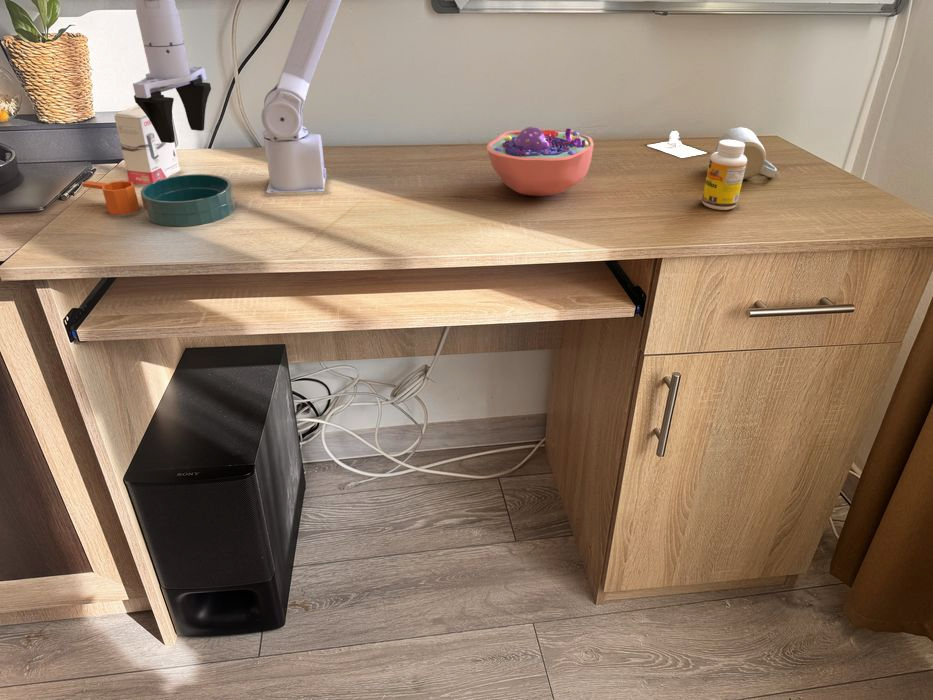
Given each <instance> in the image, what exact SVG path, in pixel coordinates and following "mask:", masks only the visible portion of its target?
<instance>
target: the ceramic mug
mask: <svg viewBox="0 0 933 700" xmlns="http://www.w3.org/2000/svg"><path fill="white" fill-rule="evenodd" d="M721 140H736V141H740V142H743V143H744V144H745V148H744V153H743V155H744V156H745V157H746V158H747V163H746V168H745V172H744V176H743V180H748V179H750V178H753V177H755V176H757V175H758V174H761V175H762V176H765V177H767V178H770V179H771V178H774V176H775V175H776V174H777V172H778V169H777V167H775V165H773V164H772V163H771V162H769V161H768V160H766V158H767V155H766V149H765V147H764V146H763V144H762V143H761V142H760V140H759V138H758V137H757V135H756V134H755V133H754V132H753V131H752V130H751V129H749V128H747V127H743V126H741V127H739V126H738V127H733V128H730V129H728V130H727V131H725V132H724V133H723V134H722V135H721V136H720V137H719V138H718V141H717V142H716V144H715V148H714V149H715V150H714V153H715V152H717V148H718V144H719V141H721Z"/></svg>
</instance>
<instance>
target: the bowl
mask: <svg viewBox="0 0 933 700" xmlns="http://www.w3.org/2000/svg"><path fill="white" fill-rule="evenodd" d="M140 197H141V202H142V206H143V210H144V213H145V216H146V219H147V220H148V221H149V222H150V223H153V224H155V225H159V226H164V227H193V226H200V225H205V224H210V223H214V222H217V221H219V220H223V219H224V218H226V217H228V216H230V215H232V213H233V212H235V209H236V202H235V197H234V191H233V185H232V182H231V181H230V180H229V179H228V178H226V177H223V176H220V175H216V174H215V175H214V174H203V173H193V174H192V173H191V174H182V175H181V174H180V175H174V176H169V177H167V178H164V179H161V180H157V181H155V182H152V183H150V184H148V185H147V184H146V185H145V186H143V188H142V189H141V190H140Z"/></svg>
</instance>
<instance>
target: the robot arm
mask: <svg viewBox="0 0 933 700" xmlns="http://www.w3.org/2000/svg"><path fill="white" fill-rule="evenodd" d="M133 1H134V4H135V14H136V18H137V22H138V27H139V31H140V35H141V40H142V45H143V50H144V52H145V53H144V54H145V58H146V62H147V66H148V67H147V68H148V71H149V72H148V73H145V77H144V78H143V79H141V80H138V81H137V82H134V83H132V87H133V91H134V95H133V98H134V102H135V104H136V105H137V106H138V105H139V107H140V108H141V109H142V110H143V111H144V113H145V114H146V115H147V117H148V118H149V120H150V121H151V123H152V125H153V127H154V129H155V131H156V133H157V135H158V137H159V139H160V141H161V142H166V143H173V142H175V139H176V138H175V137H176V136H175V129H174V123H173V106H174V101H175V98H174V97H169V96H165V95H164V94H162V93H163V92H166V91H171V90H173V89H175V90H176V92H177V94H178V96H179V98H180V100H181V103H182V105H183V109H184V111H185V115H186V116H185V117H186V119H187V123H188V126H189V128H190V130H191V131H198V132H203V131H204V130H205V122H206V121H205V119H206V108H207V102H208V99H209V95H210V93H211V90H212V86H211V83H210V82H205V81H207V80H208V79H207V73H206V68H205V67H203V66H191V67H190V66H189V61H188V60H189V59H188V55H187V51H186V45H185V40H184V34H183V29H182V24H181V20H180V15H179V10H178V8H177V4H176V0H133ZM341 2H342V0H307V1H306V3H305V6H304V9H303V12H302V14H301V17H300V20H299V22H298V25H297V28H296V31H295V33H294V36H293V39H292V43H291V46H290V48H289V51H288V54H287V56H286V59H285V61H284V63H283V68H282V70H281V72H280V74H279V76H278V79H277V82H276V84H275V85H274V87H273V88H271V89H270V90H269V91H268V92H267V93H266V95H265V97H264V100H263V108H262V110H261V115H260V116H261V124H262V126H263V128H264V129H265V130H264V131H263V132H262V135H263V143H264V149H265V158H266V163H267V171H268V178H269V181H268V185H267V188H266V191H265V193H266V194H291V193H293V194H296V193H321V192H322V193H323V192H324V191H325V185H326V179H327V169H326V167H325V161H324V160H325V159H324V151H323V150H324V149H323V142H322V136H321V134H319V133H318V134H317V133H309V130H308V128H307V127H305V126H304V125H303V123H304V117H303V111H304V104H305V101H306V99H307V95H308V92H309V88H310V84H311V82H312V79H313V77H314V74H315V71H316V68H317V66H318V63H319V61H320V58H321V56H322V52H323V50H324V47H325V45H326V42H327V40H328V37H329V34H330V31H331V30H332V26H333V24H334V21H335V18H336V16H337V13H338V10H339V8H340V6H341Z"/></svg>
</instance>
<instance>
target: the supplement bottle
mask: <svg viewBox="0 0 933 700" xmlns="http://www.w3.org/2000/svg"><path fill="white" fill-rule="evenodd" d="M744 148H745V144H744V143H743V142H740V141H736V140H721V141H719V144H718V148H717V152H715V151H714V152H713V153H712V154H710V157H709V161H708V168H707V171H706V172H707V173H706V176H705V181H704V187H703V192H702V198H701V203H702V204H703V205H704V206H705V207H707V208H709V209H712V210H716V211H717V210H718V211H727V210H733V209H735V208H736V207H737V205H738V201H739V197H740V193H741V189H742V185H743V181H744V179H743V176H744V172H745V168H746V163H747V158H746V157H745V156H744V155H743V153H744Z"/></svg>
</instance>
